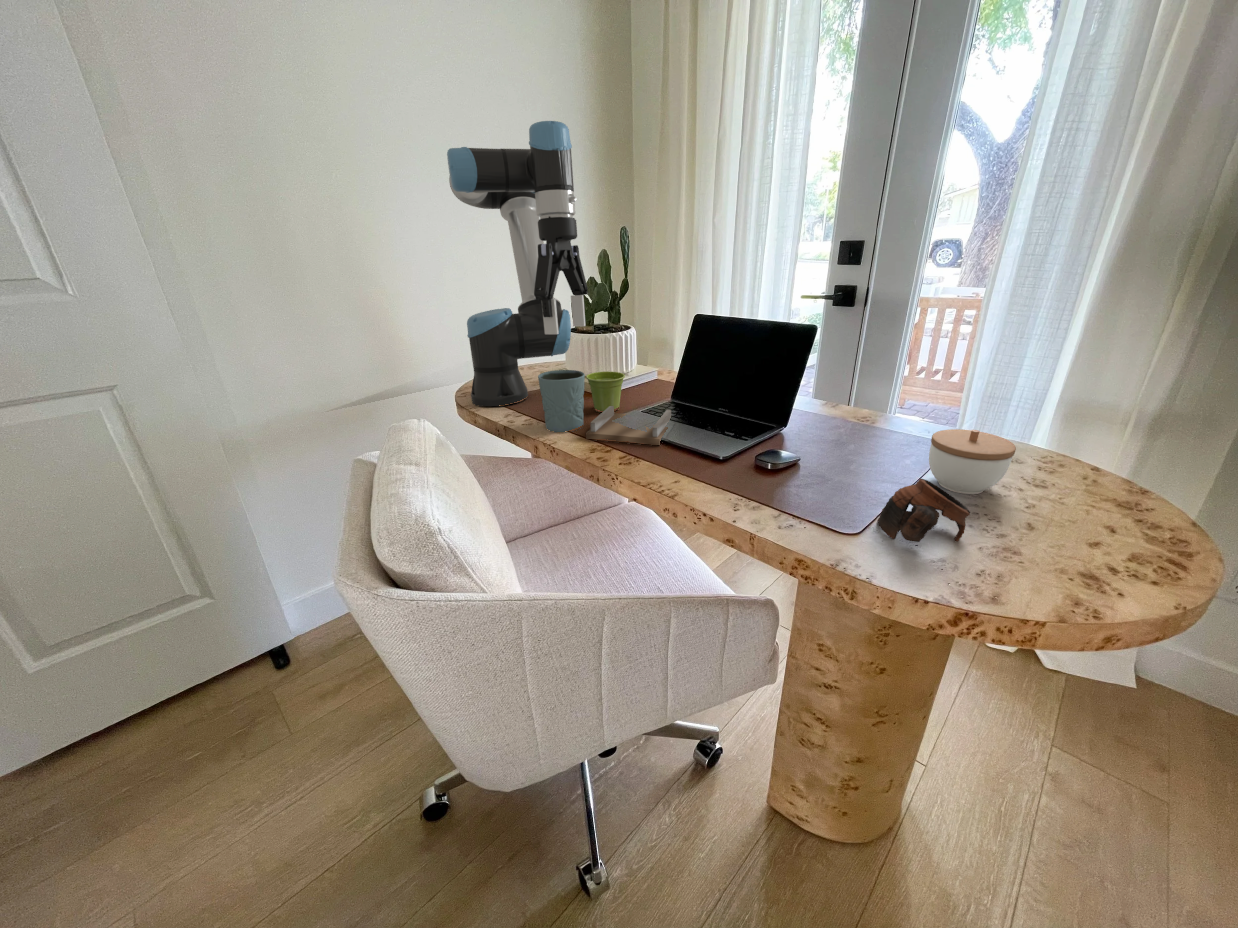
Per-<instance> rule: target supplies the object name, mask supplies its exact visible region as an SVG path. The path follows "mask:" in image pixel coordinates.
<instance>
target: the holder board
mask: <svg viewBox="0 0 1238 928" xmlns="http://www.w3.org/2000/svg"><path fill="white" fill-rule="evenodd" d="M626 414H627V413H620V412H619V413H618V412H617V413H616V412H614V406H609V407H608V408H607V409H606V410H605V411H603V412H602V413H600V414H599V415H598V416H596V417H595V418H594V419H593V420H592V421H591V422H589V425H590V428H589V430H587V431H586V432H585V439H606V440H607V439H608V440H616V441H629V442H636V443H644V444H651V445H650V446H652V445H660V441H661V438H662V436H663V435H664V433H665V432H666V430H667V429H668V427H665V426H666V425H667V423H668V422H669V420H670V418H671V417H672V410H671V409H666V410H665V411H664V412H663V414H662V415H660V416H661V418H660V419H659V420H658V421H657V423H656V424H655V425H653V427H652V428H651V429H649V428H648V427H646V426H645V427H646V430H647V432H645V431H641V430H638V429H637V430H635V429H631V428H628V427H626V426H623V425H621V424H619V423H615V422H612V420H615V419H617V418H620V417H621V418H622V417H623V416H625V415H626ZM660 446H661V445H660Z"/></svg>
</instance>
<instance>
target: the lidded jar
mask: <svg viewBox="0 0 1238 928" xmlns="http://www.w3.org/2000/svg"><path fill="white" fill-rule="evenodd" d="M930 443H931V444H930V447H929V453H928V465H929V468H930V472H931V474H932V475H933V476H934V478H935V480H936V481H937V482H938V484H939V486H940V487H941V488H942V489H943V488H944V490H945V489H946V490H948V491H950V492H953V493H958V494H962V495H979V494H982V493H983V492H984V491H986V490H988V489H990V488H992V487H995V486H996V485H997V484H999V482H1000V481H1001V480H1002V479H1003V478H1004V477H1005V475H1006V473H1007V472H1008V470H1009V468H1010V465H1011V462H1012V459H1013V457H1014V455H1015V453H1016V451H1017V448H1016V445H1015V444H1014V443H1013V442H1012V441H1010V440H1008V439H1007V438H1004V437H1001V436H998V435H996V434H992V433H987V432H983V431H980V430H977V429H960V428H959V429H955V428H954V429H943V430H939V431H936V432H933V434H932V435H931V440H930Z"/></svg>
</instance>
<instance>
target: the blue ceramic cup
mask: <svg viewBox="0 0 1238 928" xmlns="http://www.w3.org/2000/svg"><path fill="white" fill-rule="evenodd" d="M585 375H586V374H585V373H584V372H583V371H580V370H575V369H574V370H573V369H555V370H548V371H545V372H542V373H539V374H538V376H537V380H538V385H539V390H540V395H541V399H542V400H541V401H542V402H541V403H542V408H543V412H544V422H545V428H546V430H547V429H548V431H549V430H550V431H549V432H551V431H554V432H553V433H557V432H565V431H569V430H572V429H575V428H578V427H580V426H582V425H583V426H584V415H585V414H584V409H585V407H584V405H585V402H584V401H585V400H584V394H585V378H586V376H585ZM565 433H566V432H565Z"/></svg>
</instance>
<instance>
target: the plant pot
mask: <svg viewBox="0 0 1238 928" xmlns="http://www.w3.org/2000/svg"><path fill="white" fill-rule="evenodd" d="M585 378H586V380H587V382H588V385H589V386H590V391H591V397H592V403H593V407H594V408H595V409H597V410H600V411H605V410H606V409H607V408H608V407H609V406H614V409H616V408H618V407H619V408H620V404H621V403H620V402H621V395H622V384H623V382H624V379H625V378H626V374H625V373H622V372H619V371H609V370H608V371H598V372H597V371H595V372H590V373H589V374H586V376H585ZM595 409H594V410H595Z"/></svg>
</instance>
